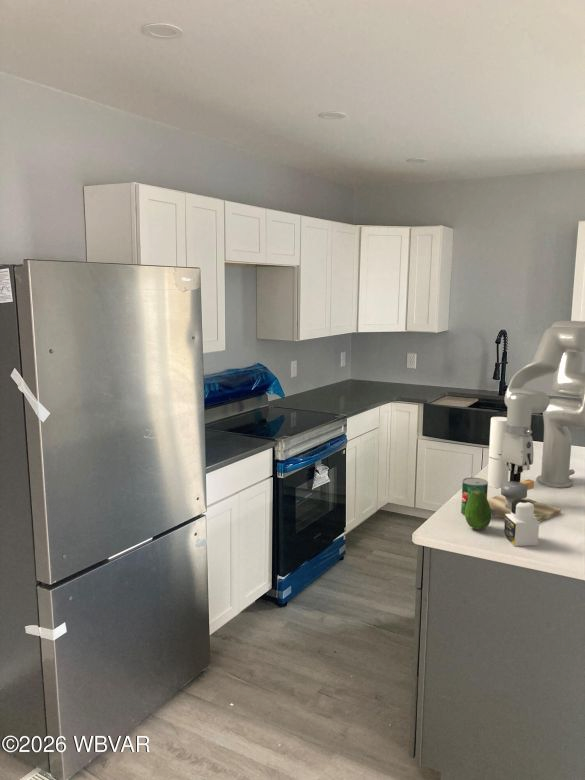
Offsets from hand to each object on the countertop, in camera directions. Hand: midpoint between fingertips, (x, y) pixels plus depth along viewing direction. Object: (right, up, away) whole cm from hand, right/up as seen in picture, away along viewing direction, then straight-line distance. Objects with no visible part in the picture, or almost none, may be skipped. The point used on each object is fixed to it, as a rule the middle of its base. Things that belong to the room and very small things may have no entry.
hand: (514, 483), depth 211 cm
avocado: (-19, -11, -20) cm, 29 cm away
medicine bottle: (-9, -13, -29) cm, 33 cm away
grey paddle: (-1, -2, -6) cm, 6 cm away
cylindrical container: (+1, -4, +20) cm, 21 cm away
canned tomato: (-16, -9, -8) cm, 20 cm away
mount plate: (-1, -8, -5) cm, 10 cm away
